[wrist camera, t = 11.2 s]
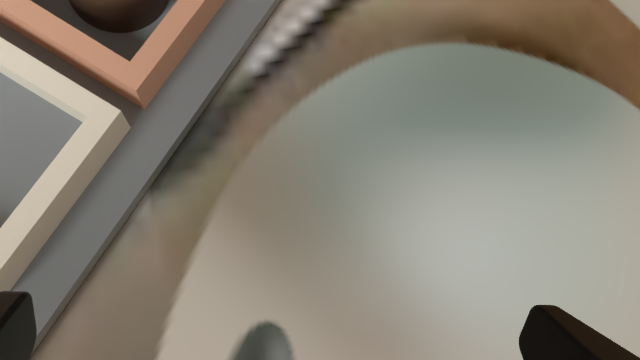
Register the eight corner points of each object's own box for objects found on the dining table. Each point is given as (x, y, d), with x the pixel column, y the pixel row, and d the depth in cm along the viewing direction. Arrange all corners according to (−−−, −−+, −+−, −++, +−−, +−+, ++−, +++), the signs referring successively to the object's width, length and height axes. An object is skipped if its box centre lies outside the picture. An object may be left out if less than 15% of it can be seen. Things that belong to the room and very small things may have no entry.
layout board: (-4, 404, 18) (-47, 427, 15) (-286, 244, 17) (-388, 235, 14) (285, -6, 23) (293, -47, 20) (76, -139, 23) (55, -200, 20)
